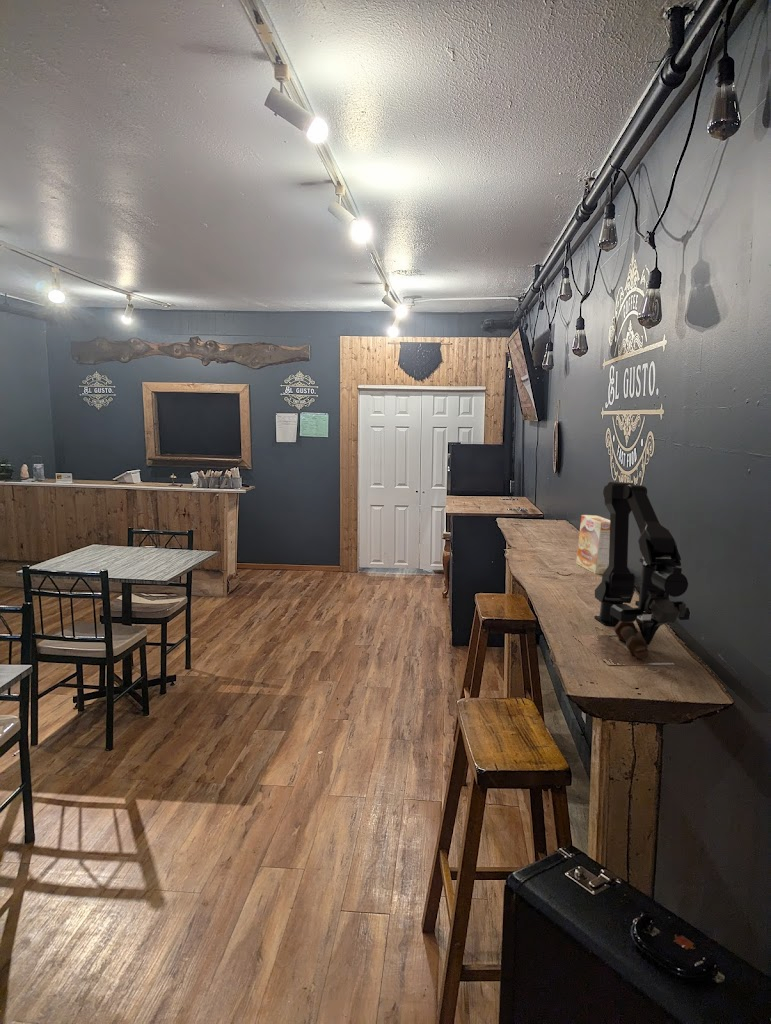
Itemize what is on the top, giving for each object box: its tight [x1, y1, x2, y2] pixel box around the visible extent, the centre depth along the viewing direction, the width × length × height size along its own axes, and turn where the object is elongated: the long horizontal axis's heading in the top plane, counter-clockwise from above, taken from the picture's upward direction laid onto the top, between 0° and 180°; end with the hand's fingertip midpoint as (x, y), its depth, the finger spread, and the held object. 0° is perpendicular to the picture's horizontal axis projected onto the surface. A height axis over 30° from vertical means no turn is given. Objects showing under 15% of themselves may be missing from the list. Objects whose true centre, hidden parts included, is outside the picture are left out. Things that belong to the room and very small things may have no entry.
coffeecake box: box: [575, 514, 610, 575], centre depth 235 cm, size 15×7×20 cm, turn 10°
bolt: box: [613, 621, 650, 659], centre depth 155 cm, size 6×5×15 cm
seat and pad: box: [578, 634, 676, 666], centre depth 155 cm, size 19×17×1 cm
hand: (646, 644), depth 156 cm, fingers closed
